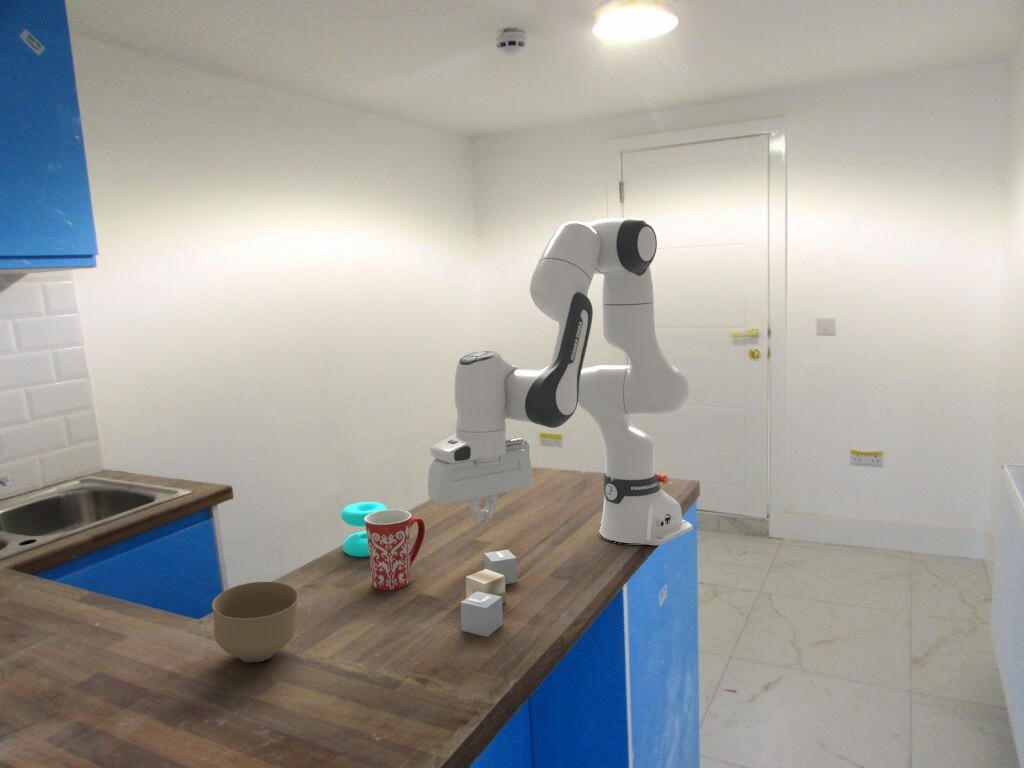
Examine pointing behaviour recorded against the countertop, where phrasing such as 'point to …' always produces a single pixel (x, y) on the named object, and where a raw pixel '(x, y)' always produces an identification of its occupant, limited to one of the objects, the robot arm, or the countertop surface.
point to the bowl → (255, 619)
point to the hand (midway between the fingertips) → (483, 520)
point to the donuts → (355, 517)
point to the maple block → (486, 583)
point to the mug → (392, 547)
